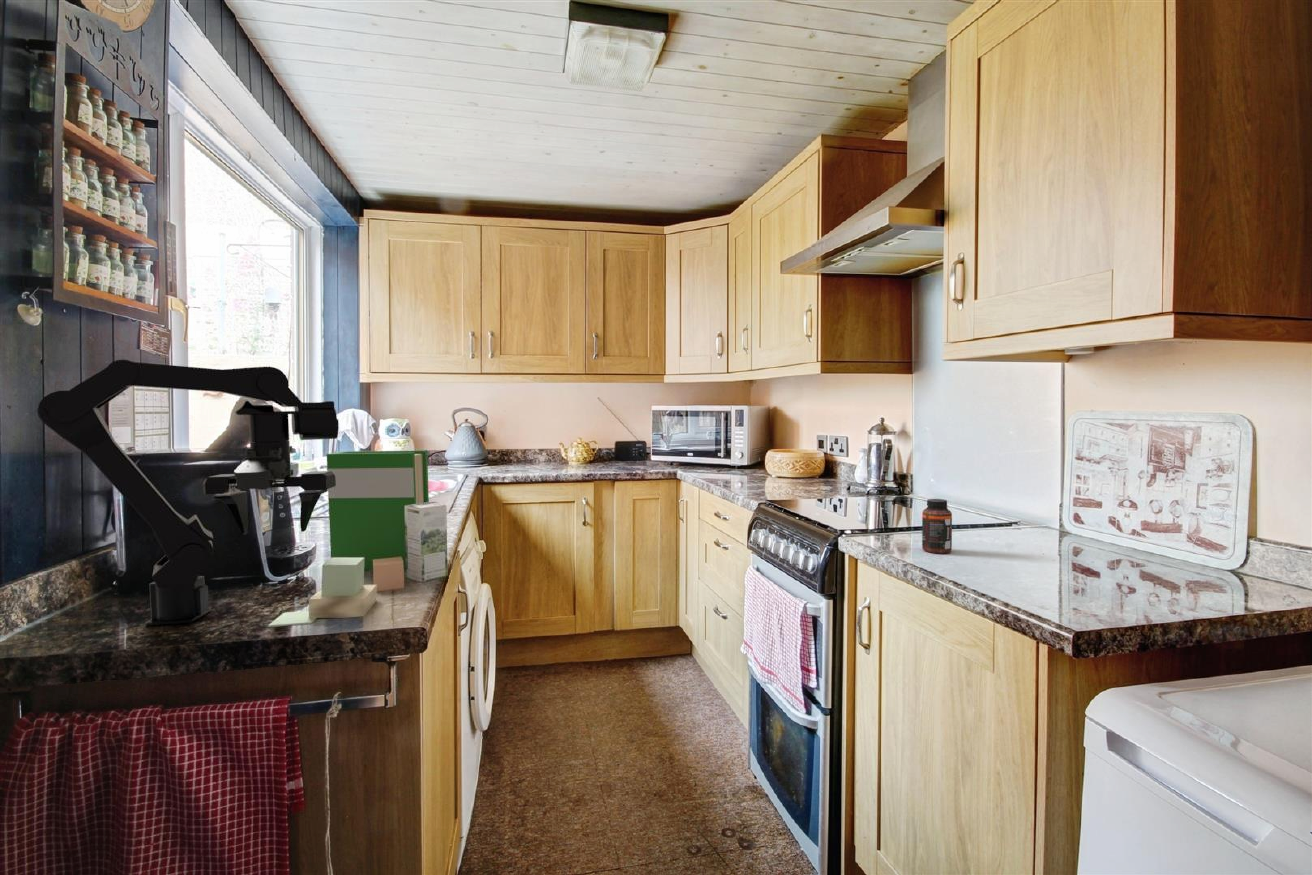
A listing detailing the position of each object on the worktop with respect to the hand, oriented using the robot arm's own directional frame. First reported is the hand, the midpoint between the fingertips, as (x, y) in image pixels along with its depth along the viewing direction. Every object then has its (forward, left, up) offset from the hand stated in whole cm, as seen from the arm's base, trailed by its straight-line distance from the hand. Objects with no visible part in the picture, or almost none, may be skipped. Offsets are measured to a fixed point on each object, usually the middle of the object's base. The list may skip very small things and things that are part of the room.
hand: (274, 532), depth 108 cm
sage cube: (+13, -8, -9) cm, 18 cm away
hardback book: (+12, +22, -12) cm, 28 cm away
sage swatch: (+7, -11, -12) cm, 18 cm away
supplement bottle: (+130, +6, -12) cm, 131 cm away
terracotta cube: (+17, +5, -12) cm, 21 cm away
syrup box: (+23, +10, -12) cm, 28 cm away
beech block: (+13, -8, -12) cm, 19 cm away
